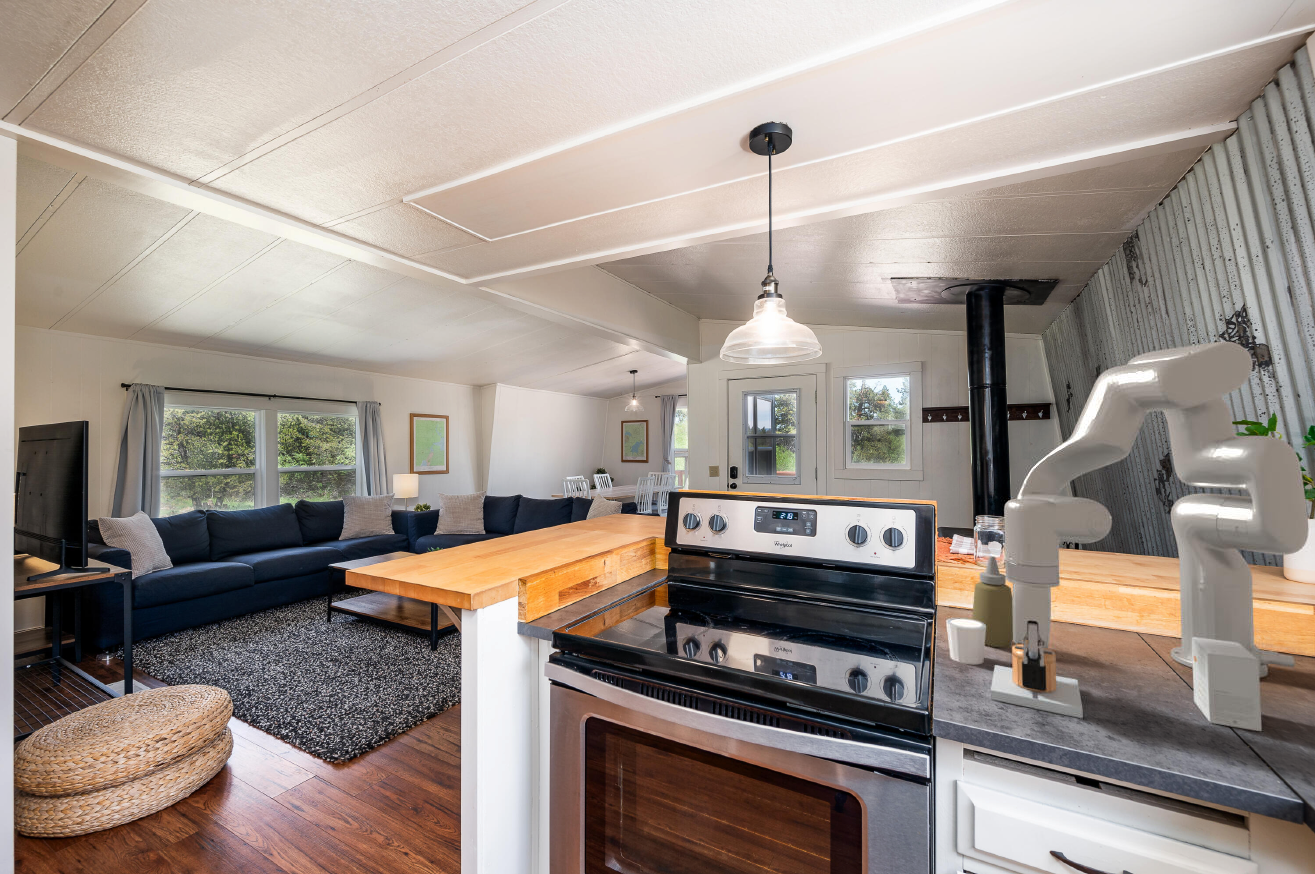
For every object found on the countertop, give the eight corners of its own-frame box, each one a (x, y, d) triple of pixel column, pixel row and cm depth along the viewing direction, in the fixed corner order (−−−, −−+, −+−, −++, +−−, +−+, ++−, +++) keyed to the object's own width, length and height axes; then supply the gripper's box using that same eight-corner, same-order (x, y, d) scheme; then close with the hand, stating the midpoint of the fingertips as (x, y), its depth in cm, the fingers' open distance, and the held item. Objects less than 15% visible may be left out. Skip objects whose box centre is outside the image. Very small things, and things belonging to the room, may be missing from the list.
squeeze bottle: (1026, 650, 112) (1024, 560, 112) (985, 650, 112) (983, 561, 112) (1001, 636, 120) (999, 552, 120) (964, 636, 120) (962, 553, 120)
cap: (1055, 681, 94) (1054, 647, 94) (1056, 694, 89) (1056, 658, 89) (1013, 673, 97) (1012, 640, 97) (1012, 686, 92) (1011, 651, 92)
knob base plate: (1077, 688, 95) (1076, 656, 95) (1082, 718, 85) (1081, 682, 85) (995, 673, 101) (994, 642, 101) (991, 699, 91) (990, 665, 91)
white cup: (992, 666, 104) (992, 629, 104) (953, 664, 105) (952, 627, 106) (979, 652, 111) (978, 617, 111) (942, 651, 112) (941, 616, 112)
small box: (1262, 733, 80) (1260, 659, 80) (1208, 723, 82) (1206, 652, 83) (1241, 709, 86) (1239, 641, 86) (1193, 701, 89) (1191, 635, 89)
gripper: (1007, 561, 102) (1009, 659, 102) (1003, 581, 88) (1005, 695, 88) (1057, 565, 98) (1059, 668, 98) (1061, 587, 84) (1064, 707, 84)
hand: (1034, 679), depth 93 cm, fingers closed on cap, 6 cm apart
